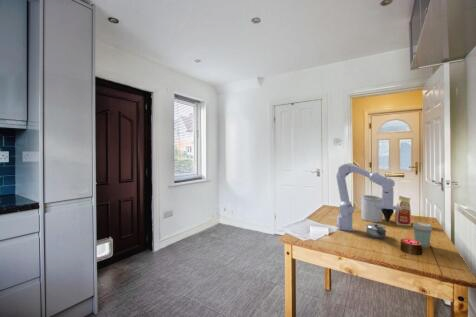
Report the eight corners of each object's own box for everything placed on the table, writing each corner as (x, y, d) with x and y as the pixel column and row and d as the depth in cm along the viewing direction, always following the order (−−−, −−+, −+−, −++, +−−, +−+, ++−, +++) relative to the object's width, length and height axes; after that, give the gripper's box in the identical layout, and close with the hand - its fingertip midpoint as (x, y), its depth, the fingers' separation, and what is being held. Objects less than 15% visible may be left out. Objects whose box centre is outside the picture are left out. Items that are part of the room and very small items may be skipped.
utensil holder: (383, 218, 178) (383, 195, 177) (383, 223, 166) (383, 199, 165) (361, 215, 186) (362, 194, 185) (360, 220, 174) (360, 197, 173)
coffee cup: (433, 250, 122) (433, 227, 122) (413, 246, 127) (413, 225, 126) (430, 244, 130) (430, 223, 129) (411, 241, 134) (411, 220, 134)
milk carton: (397, 224, 163) (397, 196, 163) (394, 220, 172) (394, 194, 171) (412, 226, 160) (413, 197, 159) (408, 222, 168) (409, 195, 168)
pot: (362, 231, 151) (362, 224, 151) (379, 232, 149) (379, 224, 149) (373, 241, 134) (373, 233, 134) (392, 242, 133) (392, 234, 132)
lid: (363, 224, 149) (363, 221, 149) (381, 225, 147) (381, 222, 147) (373, 233, 134) (373, 230, 133) (393, 234, 132) (393, 230, 132)
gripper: (377, 200, 135) (376, 222, 136) (404, 200, 133) (404, 224, 133) (372, 197, 142) (372, 219, 143) (398, 198, 140) (398, 220, 140)
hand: (387, 221), depth 139 cm, fingers closed
